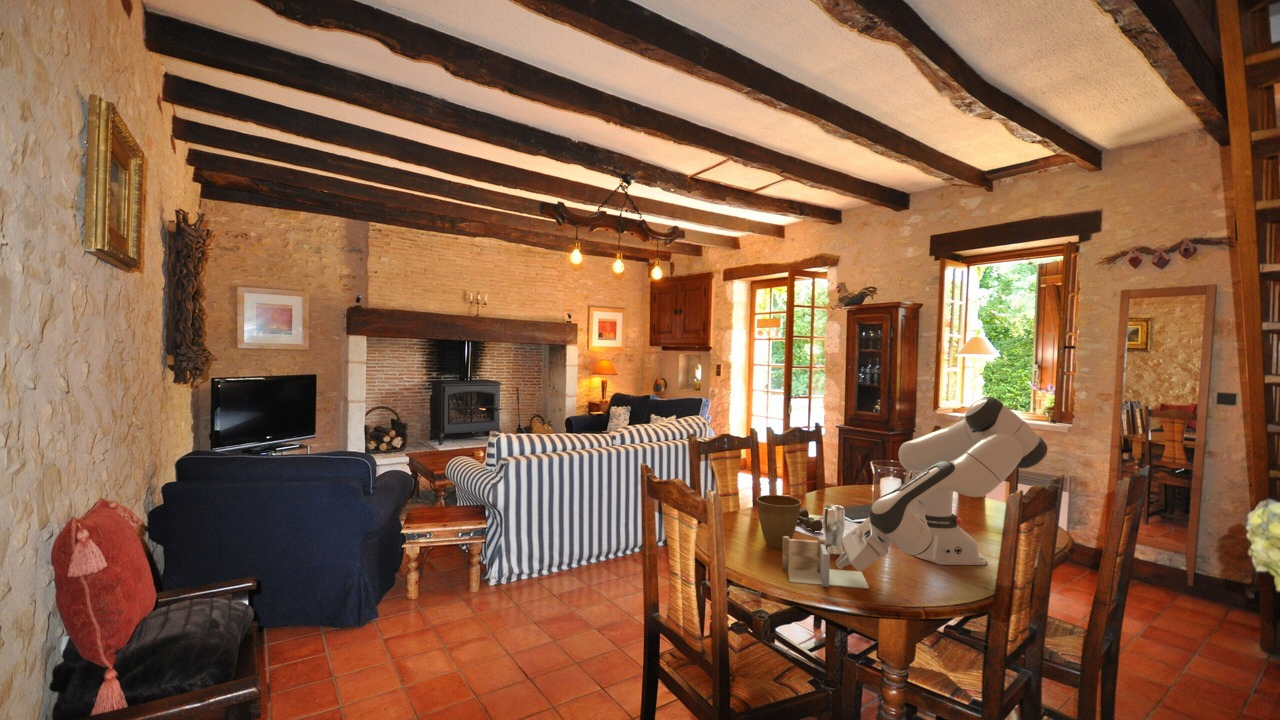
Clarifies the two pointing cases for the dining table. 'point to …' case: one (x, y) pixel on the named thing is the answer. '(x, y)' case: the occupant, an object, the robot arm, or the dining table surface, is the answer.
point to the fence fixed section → (801, 554)
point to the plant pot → (778, 518)
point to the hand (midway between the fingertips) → (837, 565)
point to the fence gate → (824, 565)
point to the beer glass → (833, 528)
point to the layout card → (835, 578)
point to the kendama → (809, 521)
